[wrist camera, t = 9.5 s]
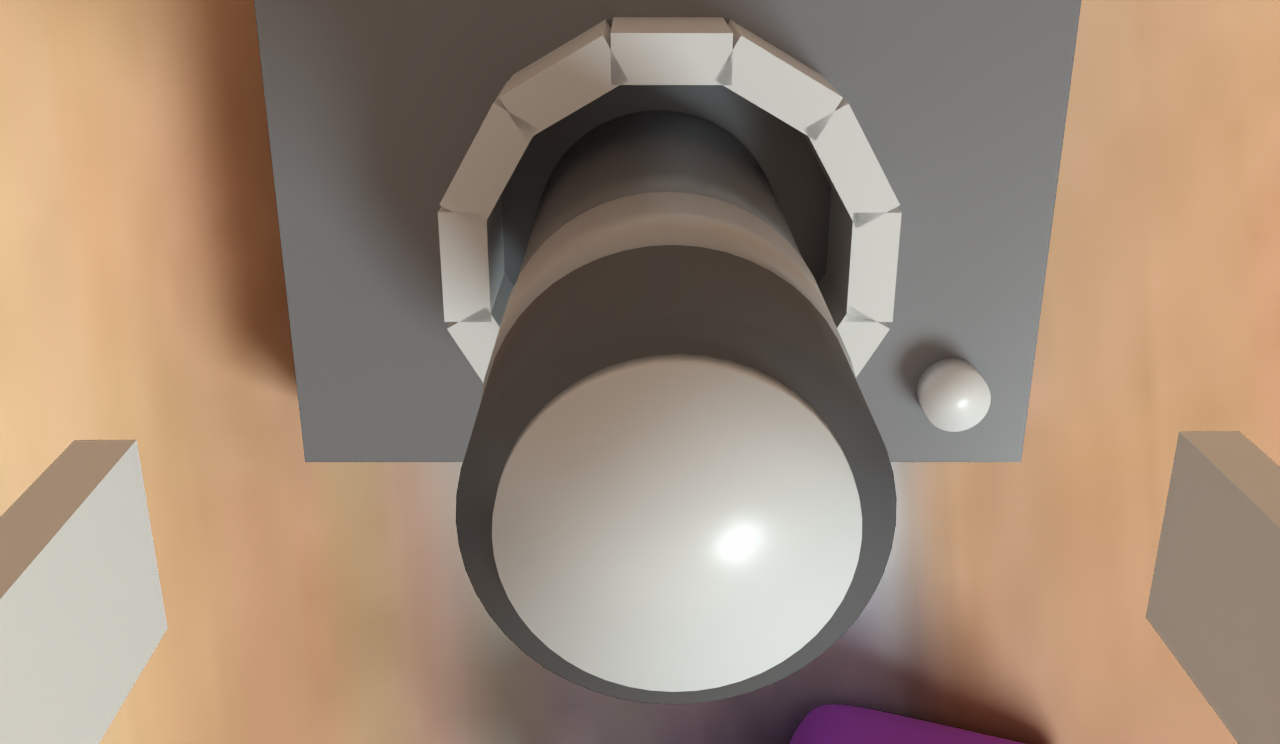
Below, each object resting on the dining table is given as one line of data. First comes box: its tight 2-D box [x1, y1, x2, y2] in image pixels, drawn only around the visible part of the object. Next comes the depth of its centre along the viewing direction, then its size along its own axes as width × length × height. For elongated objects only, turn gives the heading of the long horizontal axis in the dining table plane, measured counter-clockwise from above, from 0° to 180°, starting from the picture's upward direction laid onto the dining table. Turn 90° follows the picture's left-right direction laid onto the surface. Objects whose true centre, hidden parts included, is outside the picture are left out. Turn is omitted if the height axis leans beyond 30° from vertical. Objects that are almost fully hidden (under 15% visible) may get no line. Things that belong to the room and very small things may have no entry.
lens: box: [456, 110, 896, 704], centre depth 22 cm, size 6×6×14 cm
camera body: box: [254, 0, 1081, 462], centre depth 29 cm, size 18×12×6 cm, turn 90°
